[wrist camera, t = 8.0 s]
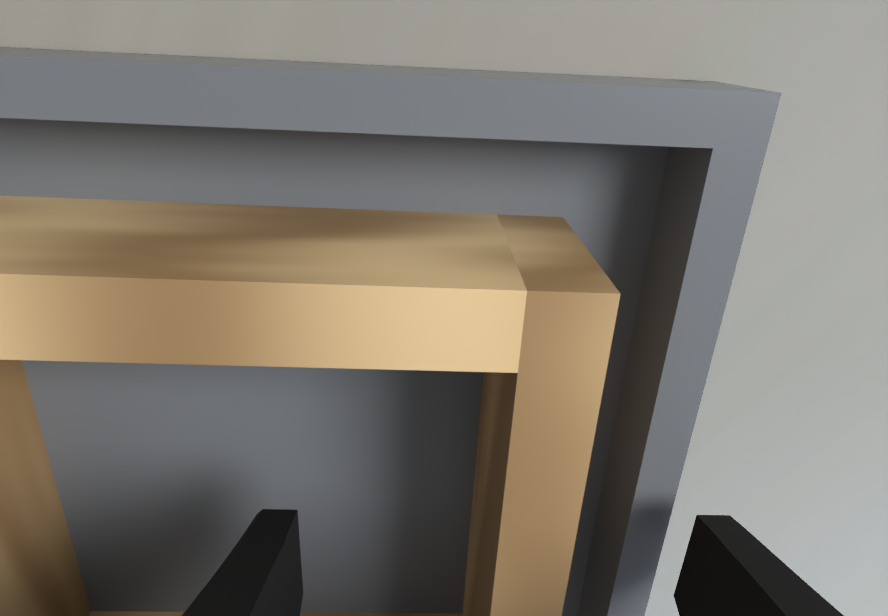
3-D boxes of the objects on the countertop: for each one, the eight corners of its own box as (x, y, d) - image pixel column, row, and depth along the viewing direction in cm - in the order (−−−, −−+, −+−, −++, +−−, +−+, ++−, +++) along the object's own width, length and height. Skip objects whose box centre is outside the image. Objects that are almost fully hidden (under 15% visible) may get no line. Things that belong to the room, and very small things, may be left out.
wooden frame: (563, 216, 11) (662, 349, 6) (506, 646, 16) (539, 899, 11) (-97, 191, 10) (-505, 317, 6) (50, 644, 15) (-110, 909, 11)
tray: (713, 81, 11) (781, 93, 9) (583, 681, 17) (604, 766, 15) (-251, 34, 10) (-423, 35, 8) (1, 680, 16) (-57, 770, 14)
